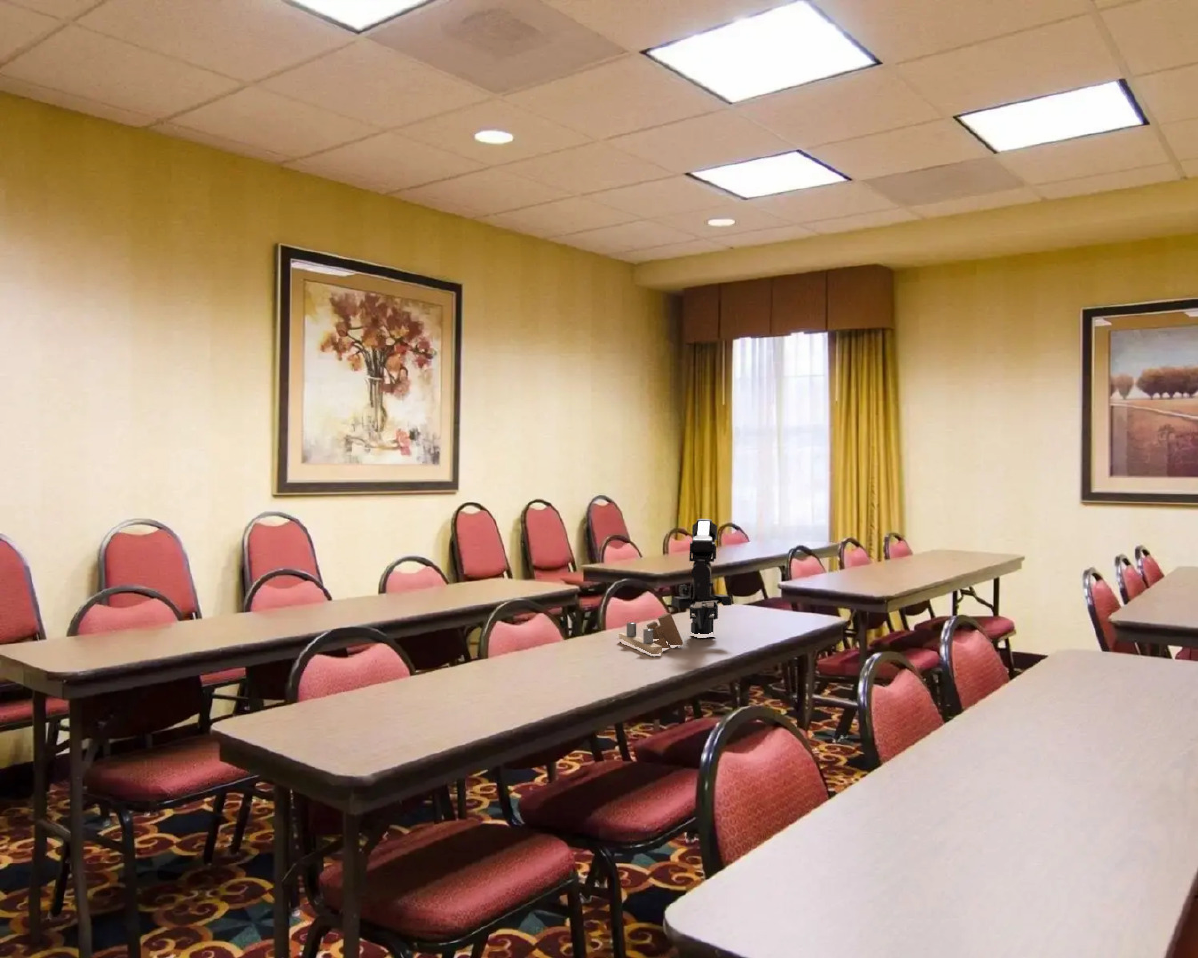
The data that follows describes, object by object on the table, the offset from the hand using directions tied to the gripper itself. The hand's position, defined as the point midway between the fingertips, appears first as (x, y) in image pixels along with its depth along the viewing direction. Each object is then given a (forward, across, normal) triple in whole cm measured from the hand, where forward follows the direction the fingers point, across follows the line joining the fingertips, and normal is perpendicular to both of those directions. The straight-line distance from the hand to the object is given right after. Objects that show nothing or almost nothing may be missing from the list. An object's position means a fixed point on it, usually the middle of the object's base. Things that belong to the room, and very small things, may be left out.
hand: (701, 628), depth 290 cm
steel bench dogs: (+5, +21, 0) cm, 22 cm away
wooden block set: (+5, +12, -1) cm, 13 cm away
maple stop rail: (+5, +21, 0) cm, 22 cm away
